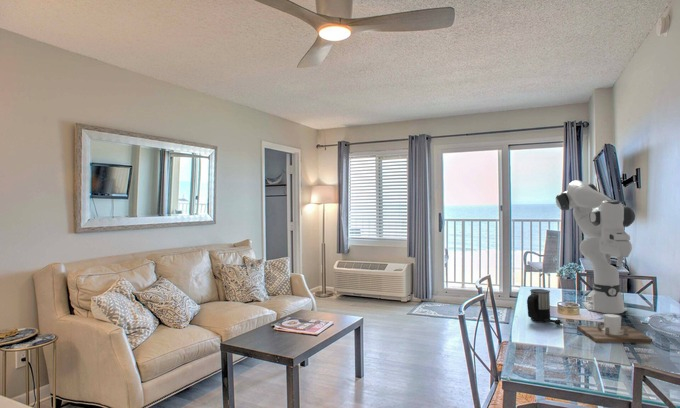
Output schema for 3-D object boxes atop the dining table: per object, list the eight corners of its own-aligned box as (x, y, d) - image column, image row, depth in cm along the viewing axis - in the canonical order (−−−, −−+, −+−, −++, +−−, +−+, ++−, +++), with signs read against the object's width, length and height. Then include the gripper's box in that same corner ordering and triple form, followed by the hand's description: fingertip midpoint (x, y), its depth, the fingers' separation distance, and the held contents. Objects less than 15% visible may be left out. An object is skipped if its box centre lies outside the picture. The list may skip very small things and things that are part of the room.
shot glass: (624, 334, 178) (624, 317, 178) (607, 333, 179) (606, 317, 179) (617, 329, 184) (617, 313, 184) (600, 328, 186) (600, 313, 186)
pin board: (577, 329, 192) (576, 319, 192) (628, 329, 189) (628, 319, 189) (594, 342, 175) (594, 331, 175) (652, 342, 171) (652, 331, 171)
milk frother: (533, 316, 215) (532, 287, 215) (567, 321, 205) (566, 291, 205) (525, 323, 204) (524, 293, 204) (561, 328, 194) (559, 296, 194)
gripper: (595, 233, 203) (596, 261, 203) (616, 236, 183) (617, 268, 183) (609, 233, 202) (610, 261, 202) (632, 236, 182) (633, 268, 182)
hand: (613, 264), depth 193 cm, fingers open, 8 cm apart
